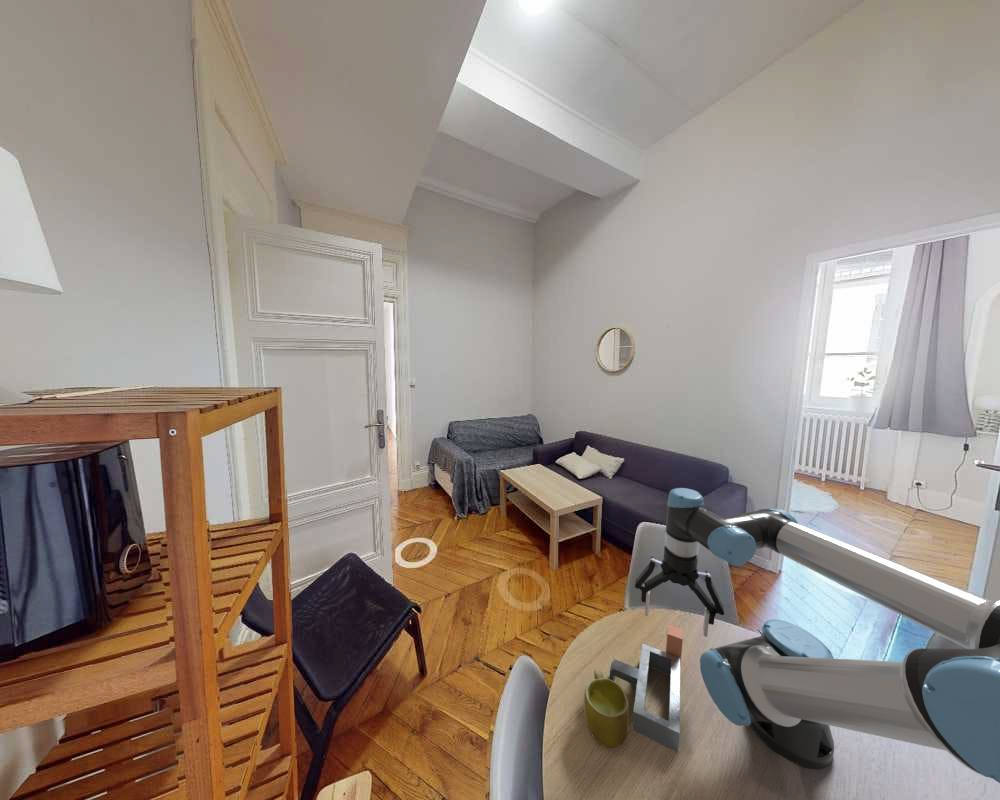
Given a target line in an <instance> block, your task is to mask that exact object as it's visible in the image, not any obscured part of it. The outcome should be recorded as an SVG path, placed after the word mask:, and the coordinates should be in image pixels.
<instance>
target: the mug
mask: <svg viewBox="0 0 1000 800" xmlns="http://www.w3.org/2000/svg"><path fill="white" fill-rule="evenodd" d="M593 671H594V672H593V676H594V677H593V679H592V680H591V681H589V682H588V683H587V684H586V686H585V689H584V698H583V699H584V700H583V701H584V708H585V715H586V716H585V717H586V722H587V727H588V730H589V731H590V734H591V735H592V737H593V739H595V741H596V742H597V743H599V744H600V745H602V746H604V747H605V748H609V749H610V748H611V749H616V748H618V747H620V746H623V745H624V744H625V742H626V740H627V738H628V730H629V728H628V725H629V724H628V723H629V709H630V708H629V700H628V697H627V695H626V692H625V691H624V688H622V686H621V685H620V684H618V683H617V682H616V681H615V680H614V681H612V680H610V678H605V676H604V672H603V671H602V670H601V669H594V670H593Z"/></svg>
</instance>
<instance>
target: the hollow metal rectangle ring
mask: <svg viewBox="0 0 1000 800" xmlns="http://www.w3.org/2000/svg"><path fill="white" fill-rule="evenodd" d="M650 669H652V670H655V671H657V672H660V673H661V674H664V675H667V676H669V694H668V695H669V696H668V697H669V699H668V717H667V718H668V720H667V719H665V718H663V717H661V716H659V715H657V714H655V713H652V712H650V711H648V710H646V709H645V708H646V702H647V701H646V699H647V692H648V691H647V690H648V680H649V670H650ZM616 678H618V679H621V680H623V681H625V682H628V683H629V684H632V685H634V686H636V689H635V697H634V705H633V714H632V730H631V731H634V732H635V733H637V734H639V735H641V736H643V737H646V738H648V739H649V740H651V741H653V742H655V743H657V744H659V745H661V746H663V747H666V748H667V749H669V750H671V751H673V752H676V753H679V745H680V734H681V732H680V731H681V730H680V727H681V726H680V721H681V717H680V715H681V713H680V712H681V711H680V710H681V708H680V707H681V666H680V658H679V657H677V656H674V655H671V654H669V653H666V651H663V650H661V649H657V648H655V647H652V646H650V645H647V644H645V643H642V644H641V651H640V659H639V668H637V667H634V666H633V665H629V664H628V663H625V662H623V661H620V660H619V659H615V658H614V659H613V661H611V664H610V667H609V679H610V680H612V681H614V682H615V679H616Z"/></svg>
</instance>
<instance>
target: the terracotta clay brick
mask: <svg viewBox="0 0 1000 800" xmlns="http://www.w3.org/2000/svg"><path fill="white" fill-rule="evenodd" d="M683 632H684V631H683V628H681V627H678V626H674V625H673V624H669V623H668V624H667V631H666V646H665V652H666V653H669V654H671V655H674V656H677V657H679V658H680V667H681V664H682V651H683V641H684V639H683V638H684V636H683Z"/></svg>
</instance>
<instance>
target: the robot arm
mask: <svg viewBox="0 0 1000 800" xmlns="http://www.w3.org/2000/svg"><path fill="white" fill-rule="evenodd" d="M668 493H669V494H668V498H667V503H666V507H667V508H666V520H665V521H666V522H665V524H666V525H665V533H664V548H663V560H662V561H661V560H658V559H656V557H655V556H652V555H651V556H650V560H649V563H648V564H647V565H646V567H644V569H643V570H642V572H641V573H640V574H639V575H638V577H637V578H635V583H634V587H635V589H637V590H640V591H641V598H640V599H641V603H642V602H643V603H645V607H644V608H645V609H644V616H645V617H649V609H650V596H651V595H650V594H651V590H653V589H654V588H655V589H656V587H658V586H659V585H661V584H663V583H667V582H668V581H670V582H671V583H673V584H678V585H680V586H682V587H686V586H688V588H689V589H690V590H691V591H692V592H693V593H694V594H695V596H696V597H698V600H699V601H700V602H701V603H702V604H703V606H704V616H703V623H702V624H703V625H702V627H703V628H702V630H703V631H702V632H703V634H702V635H703V637H706V638H708V634H709V633H708V632H709V625H714V623H715V617H716V615H717V614H719V615H720V616H724V615H725V608H724V604H723V603H722V601H721V599H720V596H719V594H718V592H717V590H716V588H715V586H714V585H715V584H713V581H712V574H711V572H710V571H709V570H705V572H702V571H699V570H698V561H699V551H700V545H702V546H703V547H704V548H705V549H707V551H710V552H711V553H712V554H713V555H714V556H715V557H718V558H720V559H722V560H723V561H724V562H726V563H727V564H729V565H732V566H736V567H737V566H738V567H740V566H744V565H746V564H747V562H749V561H751V560H752V559H753V557H754V556H755V555H756V551H757V550H759V549H764V548H765V549H769V550H771V551H774V553H778V554H779V555H782V556H783V557H786V558H788V559H789V560H792V561H793V562H795V563H797V564H799V565H801V566H804V567H806V568H807V569H809V570H811V571H813V572H816V573H817V574H819V575H821V576H823V577H825V578H827V579H829V580H831V581H832V582H835V583H836V584H839V585H840V586H843V587H844V588H846V589H848V590H850V591H852V592H854V593H857V594H858V595H860V596H863V597H864V598H866V599H868V600H870V601H872V602H874V603H876V604H878V605H880V606H882V607H884V608H886V609H888V610H890V611H892V612H894V613H896V614H898V615H900V616H901V617H903V618H906V619H908V620H910V621H912V622H914V623H916V624H918V625H919V626H922V627H924V628H926V630H927V629H928V630H930V631H931V632H933V633H935V634H937V635H939V636H941V637H943V638H945V639H947V640H949V641H951V642H953V643H956V644H957V645H959V646H961V647H963V648H923V647H921V648H913V649H911V650H910V651H908V652H907V653H906V654H905V656H904V658H903V661H891V660H875V659H873V660H871V659H870V660H869V659H849V658H835V657H834V656H833V653H832V652H831V651H830V649H829V648H828V647H827V645H825V643H823V641H821V640H820V639H819V638H818V637H817V636H815V635H813V633H811V632H809V631H807V630H805V629H803V628H802V627H799V626H798V625H796V624H793V623H792V622H791V623H790V622H789V621H785V620H780V619H768V620H766V621H765V622H764V623H763V625H762V626H761V635H760V636H757V637H752V638H749V639H744V640H740V641H736V642H733V643H730V644H729V643H728V644H727V645H726V644H725V645H722V646H718V647H715V648H714V647H712V648H710V649H708V650H706V651H704V652H703V653H702V654H701V655H700V658H699V664H700V665H699V668H700V672H701V676H702V680H703V683H704V685H705V687H706V689H707V692H708V695H709V696H710V698H711V699H712V702H714V705H715V706H716V707H717V709H718V711H720V713H721V714H722V715H723V716H724V717H725V718H726V719H727V721H729V722H731V723H732V724H734V725H735V726H737V727H742V726H747V727H748V726H750V727H751V728H752V729H753V731H754V732H755V734H756V735H757V736H758V738H760V739H761V740H762V741H763V742H764V743H765V744H766V745H767V746H768V747H769V748H771V750H773V751H774V752H776V753H777V754H778V755H779V756H782V757H783V758H784V759H786V760H787V761H789V762H792V763H794V764H796V765H798V766H801V767H804V768H808V769H814V770H819V769H824V768H826V767H828V766H830V765H831V763H832V762H833V759H834V758H833V757H834V753H835V742H834V738H833V737H834V736H833V734H832V731H831V728H830V726H831V727H836V728H841V729H844V730H849V731H854V732H858V733H864V734H867V735H873V736H878V737H882V738H886V739H890V740H896V741H900V742H905V743H910V744H914V745H918V746H922V747H928V748H933V749H937V750H941V751H946V752H948V753H949V754H950V755H951V756H952V757H954V759H956V760H957V761H958V762H959V763H960V764H962V765H963V766H964V767H966V768H967V769H970V770H971V771H973V773H974V772H975V773H976V774H979V775H981V776H983V777H985V778H990V779H993V780H994V781H996V782H998V783H999V784H1000V599H999V600H998V599H997V600H991V599H988V598H986V597H983V596H980V595H978V594H977V593H973V592H970V591H968V590H966V589H963V588H960V587H958V586H955V585H953V584H951V583H948V582H946V581H944V580H940V579H938V578H935V577H933V576H930V575H928V574H926V573H923V572H920V571H918V570H915V569H912V568H910V567H908V566H905V565H902V564H900V563H897V562H895V561H892V560H890V559H888V558H885V557H883V556H880V555H877V554H875V553H873V552H870V551H868V550H865V549H864V548H863V549H862V548H860V547H857V546H856V545H852V544H850V543H847V542H845V541H842V540H841V539H837V538H834V537H832V536H830V535H828V534H824V533H823V532H820V531H817V530H815V529H812V528H810V527H807V526H805V525H802V524H800V523H798V520H797V519H796V517H794V516H792V515H791V514H790V513H789V512H788V511H786V510H784V509H780V508H762V509H759V510H755V511H754V510H753V511H749V512H743V513H736V514H731V515H725V516H720V515H718V514H716V513H714V512H713V511H711V510H709V509H707V508H705V507H704V505H705V503H704V496H702V494H701V492H699V491H697V490H695V489H691V488H687V487H676V488H672V489H671V490H670V491H669V492H668ZM658 568H661V571H660V572H659V573H657V574H656V575H655V576H653V577H651V578H649V577H650V576H651V575H652V573H653V572H654V570H657V569H658ZM698 578H699V579H700V580H701V581H702V582H703V584H705V586H706V589H707V592H708V593H709V596H710V597H711V599H710V598H709V596H708V595H707V594H706V592H705V591H704V590H703V589H702V587H701V586H700V585H699V584H698V581H697V580H698Z"/></svg>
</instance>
